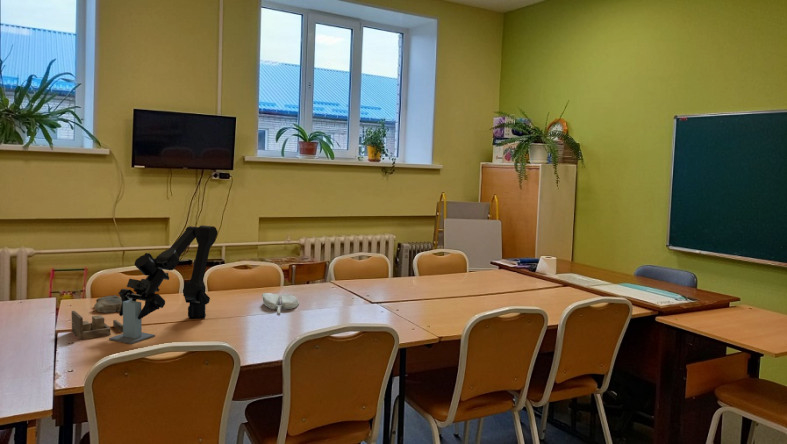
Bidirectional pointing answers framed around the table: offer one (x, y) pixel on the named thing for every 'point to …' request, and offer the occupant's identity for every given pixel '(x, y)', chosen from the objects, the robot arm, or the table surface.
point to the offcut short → (86, 326)
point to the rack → (78, 328)
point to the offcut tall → (98, 322)
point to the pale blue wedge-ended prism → (132, 319)
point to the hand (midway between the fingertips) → (129, 317)
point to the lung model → (274, 299)
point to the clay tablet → (108, 304)
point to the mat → (131, 340)
